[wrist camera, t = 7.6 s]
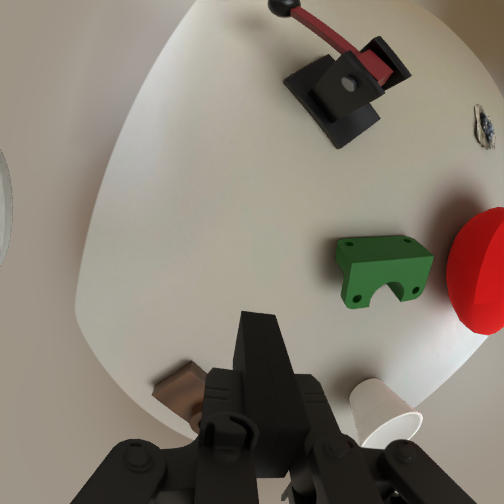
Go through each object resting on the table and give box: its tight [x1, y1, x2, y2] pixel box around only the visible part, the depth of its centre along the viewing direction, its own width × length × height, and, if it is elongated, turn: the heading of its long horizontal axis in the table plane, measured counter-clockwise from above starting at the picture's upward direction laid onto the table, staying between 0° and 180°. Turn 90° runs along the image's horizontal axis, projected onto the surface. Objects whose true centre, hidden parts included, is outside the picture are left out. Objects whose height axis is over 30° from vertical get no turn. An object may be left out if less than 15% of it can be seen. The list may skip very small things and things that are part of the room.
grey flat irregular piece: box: [475, 105, 495, 149], centre depth 28 cm, size 7×8×2 cm
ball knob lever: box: [268, 0, 393, 86], centre depth 18 cm, size 14×3×3 cm, turn 39°
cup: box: [349, 378, 422, 449], centre depth 32 cm, size 10×10×11 cm
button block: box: [152, 361, 207, 434], centre depth 34 cm, size 13×8×4 cm, turn 39°
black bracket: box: [283, 36, 412, 149], centre depth 22 cm, size 10×7×12 cm
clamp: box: [335, 236, 434, 309], centre depth 30 cm, size 12×6×9 cm, turn 87°
